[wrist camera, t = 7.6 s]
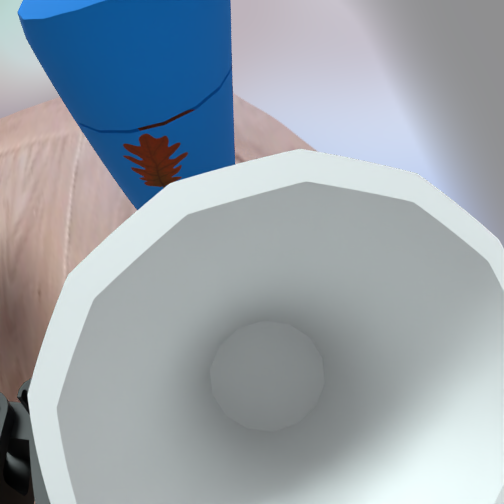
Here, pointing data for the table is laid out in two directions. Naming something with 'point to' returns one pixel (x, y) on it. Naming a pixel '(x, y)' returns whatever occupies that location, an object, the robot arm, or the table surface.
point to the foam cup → (279, 346)
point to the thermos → (142, 83)
